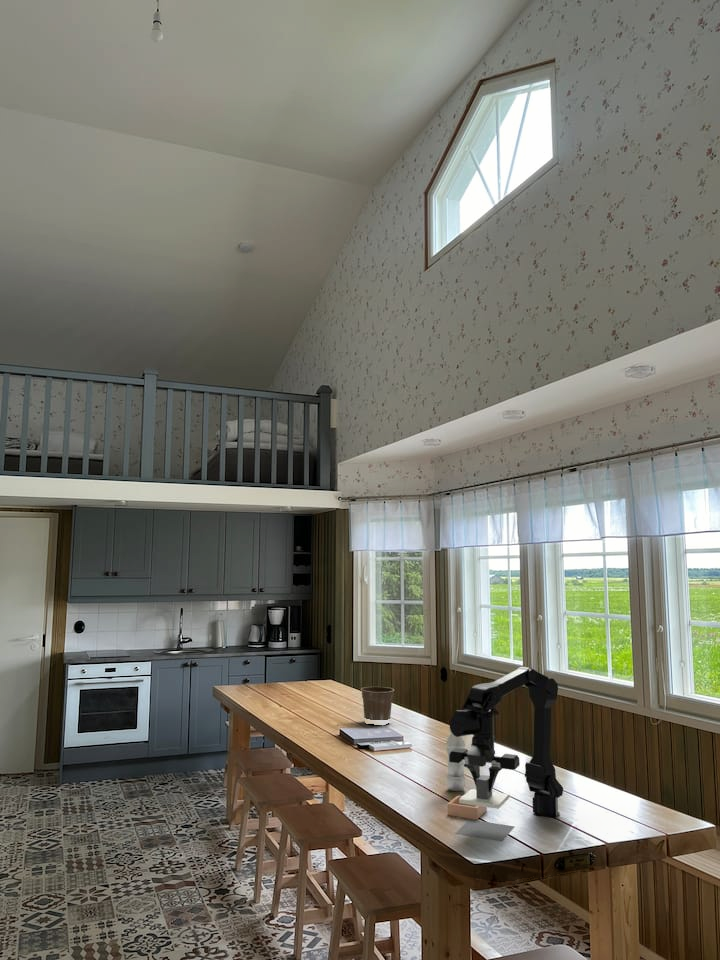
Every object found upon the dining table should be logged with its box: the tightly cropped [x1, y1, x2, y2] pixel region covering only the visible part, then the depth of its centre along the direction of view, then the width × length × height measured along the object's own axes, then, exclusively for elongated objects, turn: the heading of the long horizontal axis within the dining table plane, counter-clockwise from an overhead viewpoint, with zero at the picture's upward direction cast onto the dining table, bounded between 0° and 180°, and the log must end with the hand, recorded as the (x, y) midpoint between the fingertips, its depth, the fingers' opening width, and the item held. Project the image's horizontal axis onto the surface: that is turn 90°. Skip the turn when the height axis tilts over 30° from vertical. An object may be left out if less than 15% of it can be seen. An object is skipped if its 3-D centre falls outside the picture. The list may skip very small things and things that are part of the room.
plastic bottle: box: [445, 729, 467, 792], centre depth 239 cm, size 6×7×20 cm
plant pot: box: [360, 686, 395, 720], centre depth 347 cm, size 16×16×16 cm
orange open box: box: [447, 795, 488, 820], centre depth 213 cm, size 9×9×4 cm
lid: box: [459, 774, 510, 810], centre depth 200 cm, size 11×11×6 cm
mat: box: [454, 818, 515, 842], centre depth 199 cm, size 13×13×1 cm
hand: (484, 791), depth 200 cm, fingers closed on lid, 3 cm apart
